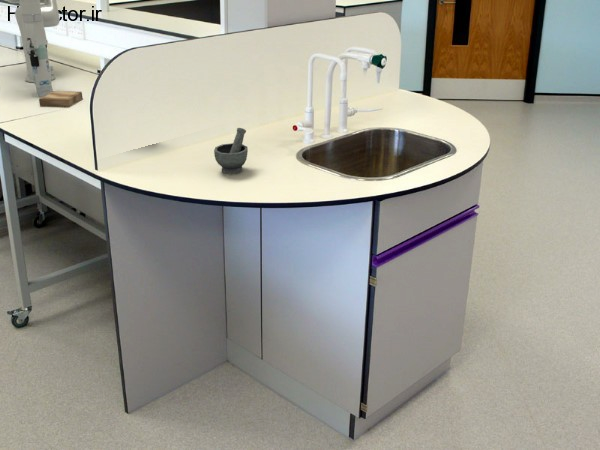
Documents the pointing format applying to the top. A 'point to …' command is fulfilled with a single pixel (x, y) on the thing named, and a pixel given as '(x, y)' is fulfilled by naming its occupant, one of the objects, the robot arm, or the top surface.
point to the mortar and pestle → (232, 154)
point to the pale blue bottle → (42, 73)
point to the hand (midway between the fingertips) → (40, 64)
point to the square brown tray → (60, 99)
